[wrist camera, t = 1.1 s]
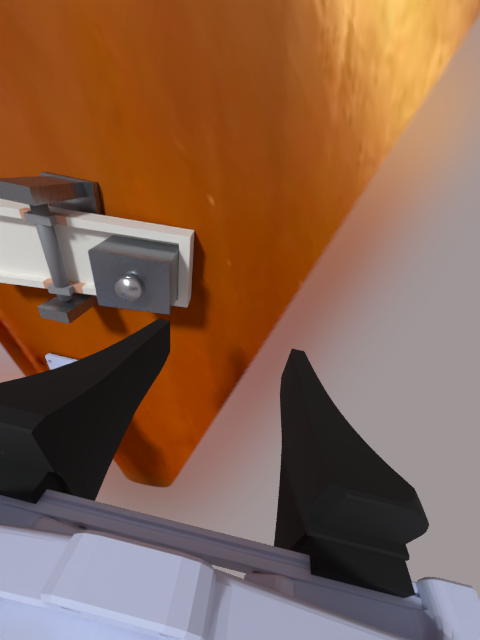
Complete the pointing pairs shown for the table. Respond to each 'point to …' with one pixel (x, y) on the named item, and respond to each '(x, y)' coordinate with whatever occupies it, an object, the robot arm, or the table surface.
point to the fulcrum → (64, 196)
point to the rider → (135, 274)
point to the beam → (74, 247)
